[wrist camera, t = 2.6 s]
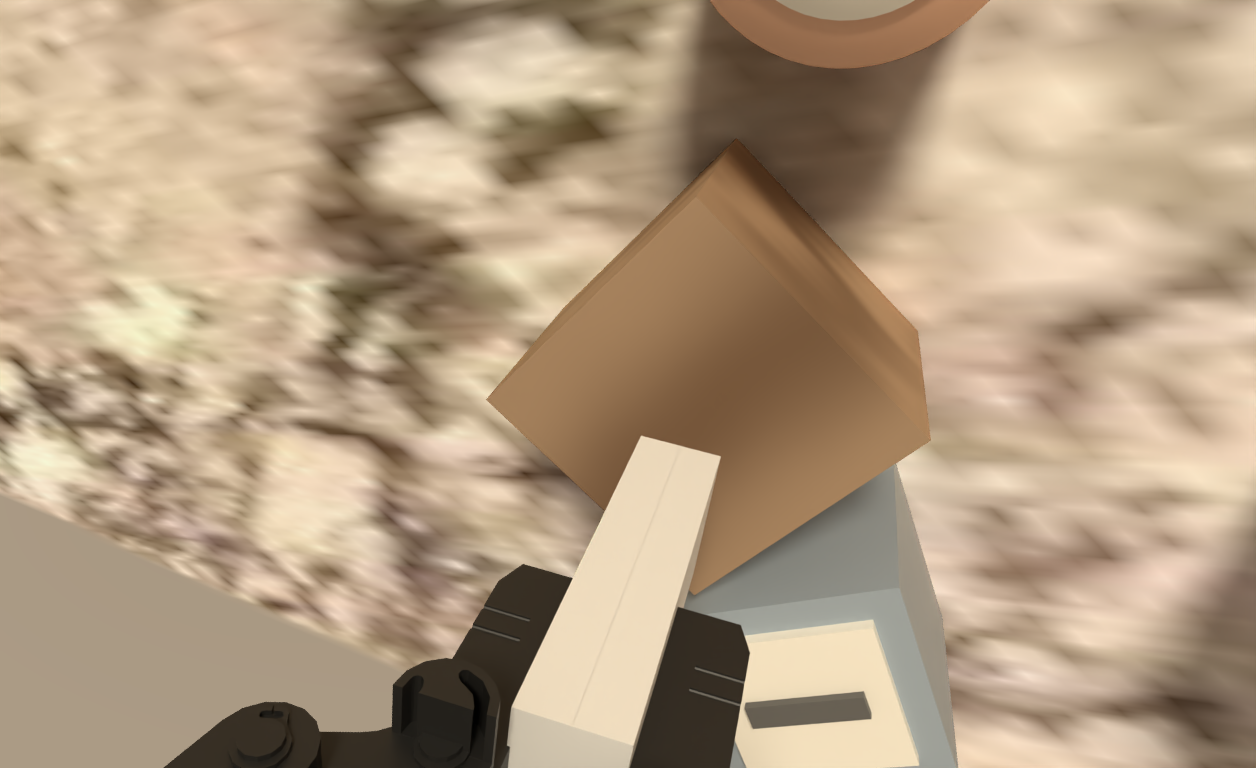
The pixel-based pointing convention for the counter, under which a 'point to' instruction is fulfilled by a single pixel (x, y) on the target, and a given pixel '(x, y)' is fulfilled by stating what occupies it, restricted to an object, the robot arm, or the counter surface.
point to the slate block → (841, 642)
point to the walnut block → (728, 364)
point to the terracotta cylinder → (846, 27)
